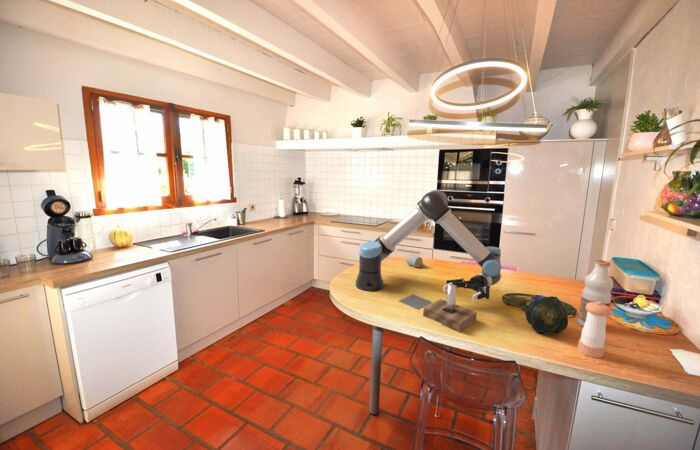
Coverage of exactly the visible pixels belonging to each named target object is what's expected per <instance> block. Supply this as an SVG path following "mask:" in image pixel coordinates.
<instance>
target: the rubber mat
mask: <svg viewBox="0 0 700 450" xmlns="http://www.w3.org/2000/svg"><path fill="white" fill-rule="evenodd" d="M398 302H399V303H402V304H403V305H406V306H408V307H410V308H411V307H412V309H415V310H419V311H420V310H422V309H424V307H426V306H428V305H430V304H432V303H434V302H433V301H431V300H428V299H427V298H426V299H425V298H423V297H420V296H418V295H416V294H411V295H409V296H406V297H403V298H401V299H399V300H398Z"/></svg>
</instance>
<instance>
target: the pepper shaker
mask: <svg viewBox="0 0 700 450" xmlns="http://www.w3.org/2000/svg"><path fill="white" fill-rule="evenodd" d="M586 310H587V311H588V312H587V318H586V322H585V325H584V327H583V326H582V329H581V336H580V338H579V340H578V345H577V349H578V351H579V352H581V354H584V355H586V356H588V357H591V358H594V359H595V358H596V359H601V358H603V357H604V353H605V348H606V346H605V341H606V338H607V336H606V335H607V334H606V331H607V329H606V327H607V323H606V322H608V318H607V316H608V317H610V316H611V314H612V309H611V307H608V306H606V305H604V304H602V303H601V302H590V303H588V304H587V305H586Z"/></svg>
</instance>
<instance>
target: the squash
mask: <svg viewBox="0 0 700 450" xmlns="http://www.w3.org/2000/svg"><path fill="white" fill-rule="evenodd" d="M525 309H526V310H525V312H524V313H525V319H526V321H527V323H528V324H529V325H530V326H531V328H532V329H533V331H535V332H537V333H541V332H542V333H543V334H545V335H550V334H553V335H557V334H558V335H559V334H561V332H564V331H565V330H566V329H567V327H568V325H569V317H568V316H569V315H568V313H567V310H566V308H565V307H564V306H563V304H562V303H561V300H560V299H559V298H558V297H557V296H545V298H541V299H538V300H535V301H533V302H531V303H530V304H529V305H528V306H526V308H525Z"/></svg>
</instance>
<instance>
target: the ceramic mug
mask: <svg viewBox="0 0 700 450" xmlns="http://www.w3.org/2000/svg"><path fill="white" fill-rule="evenodd" d="M406 264H407V265H409V266H412V267H414V268H420V267H421V266H423V265H424V262H423V258H422V257H421V256H419V255H417V254H414V253H409V255H407V258H406Z"/></svg>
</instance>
